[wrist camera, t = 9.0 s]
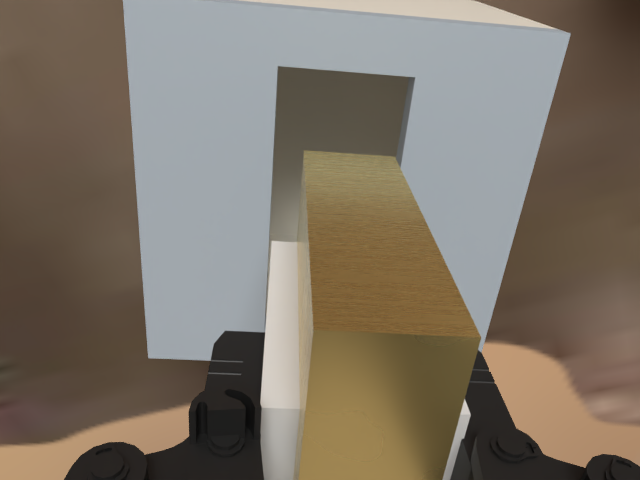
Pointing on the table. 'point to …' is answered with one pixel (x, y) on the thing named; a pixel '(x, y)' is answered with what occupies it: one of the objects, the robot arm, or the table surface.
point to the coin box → (322, 138)
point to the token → (375, 327)
